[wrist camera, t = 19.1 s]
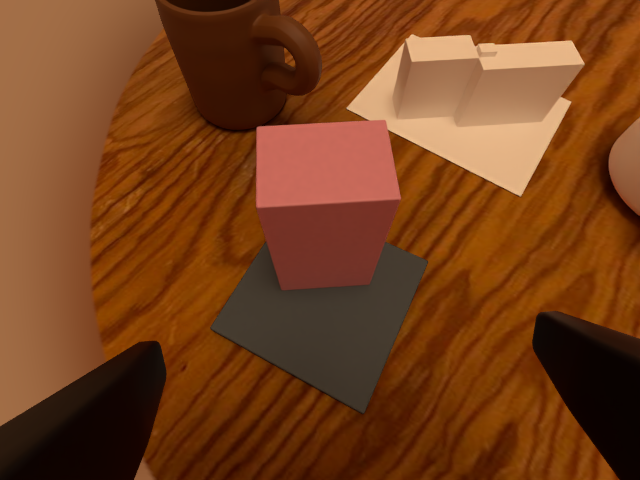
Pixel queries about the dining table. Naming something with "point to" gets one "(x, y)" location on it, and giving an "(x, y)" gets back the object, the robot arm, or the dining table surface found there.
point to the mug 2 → (627, 166)
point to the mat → (324, 324)
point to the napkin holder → (475, 101)
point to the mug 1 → (239, 57)
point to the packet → (325, 200)
